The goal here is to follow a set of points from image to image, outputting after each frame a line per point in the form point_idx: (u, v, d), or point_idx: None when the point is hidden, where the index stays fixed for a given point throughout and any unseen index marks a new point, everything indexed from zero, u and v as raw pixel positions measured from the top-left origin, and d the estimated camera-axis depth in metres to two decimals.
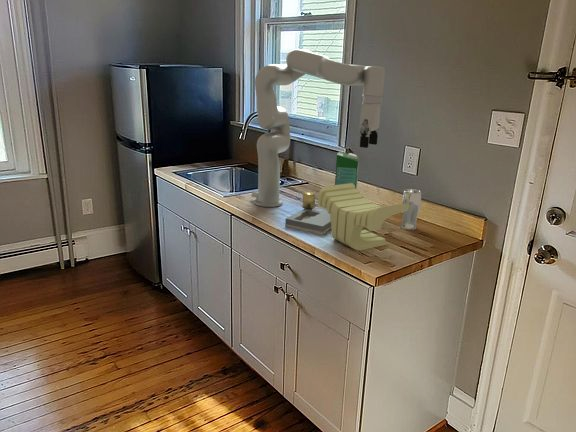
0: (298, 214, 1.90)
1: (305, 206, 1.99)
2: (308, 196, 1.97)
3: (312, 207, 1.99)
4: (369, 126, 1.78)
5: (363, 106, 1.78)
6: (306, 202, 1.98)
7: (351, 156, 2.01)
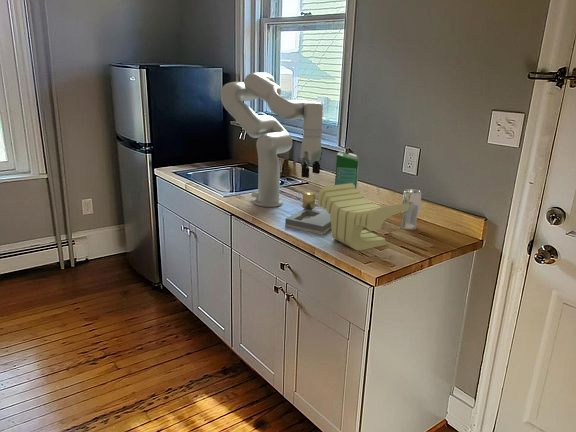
0: (298, 214, 1.90)
1: (306, 206, 1.99)
2: (308, 196, 1.97)
3: (312, 207, 1.99)
4: (309, 158, 1.90)
5: (303, 139, 1.90)
6: (306, 202, 1.98)
7: (351, 156, 2.01)
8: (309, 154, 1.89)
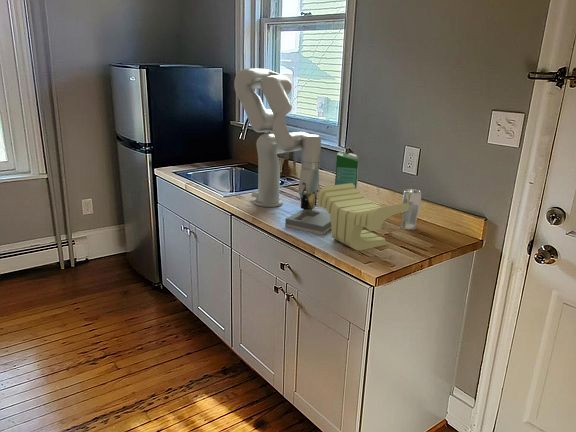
0: (298, 214, 1.90)
1: None
2: (308, 196, 1.97)
3: (312, 207, 1.99)
4: (307, 189, 1.94)
5: (301, 171, 1.93)
6: None
7: (351, 156, 2.01)
8: (307, 186, 1.93)
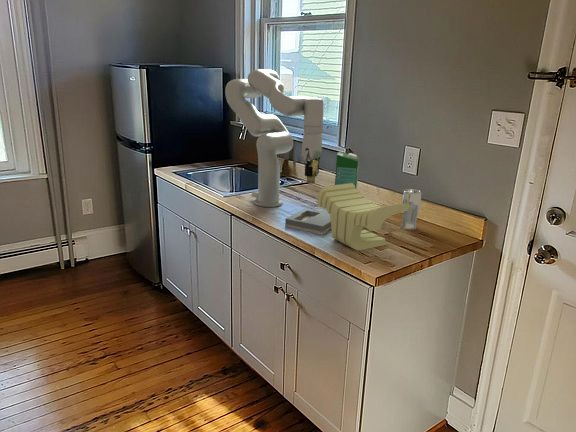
0: (298, 214, 1.90)
1: None
2: None
3: (315, 175, 1.92)
4: (310, 154, 1.87)
5: (304, 136, 1.87)
6: None
7: (351, 156, 2.01)
8: (310, 151, 1.86)
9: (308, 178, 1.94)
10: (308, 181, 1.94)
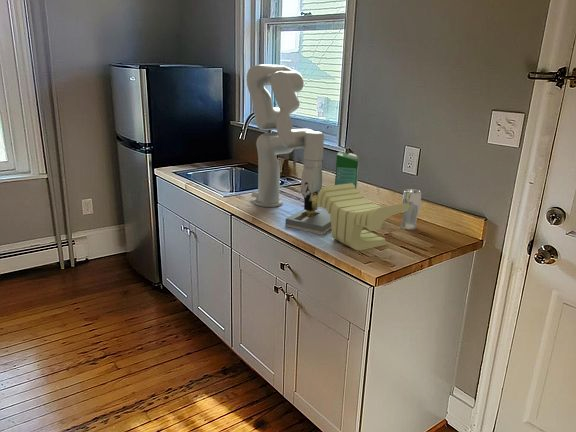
0: (298, 214, 1.90)
1: None
2: None
3: (314, 208, 1.89)
4: (310, 189, 1.84)
5: (303, 170, 1.84)
6: None
7: (351, 156, 2.01)
8: (310, 185, 1.83)
9: (308, 212, 1.90)
10: (308, 215, 1.91)
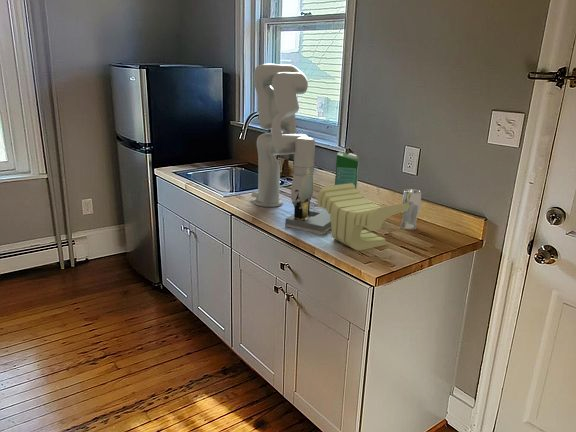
0: None
1: None
2: None
3: (305, 216, 1.84)
4: (300, 197, 1.78)
5: (294, 177, 1.78)
6: None
7: (351, 156, 2.01)
8: (300, 193, 1.78)
9: (298, 219, 1.85)
10: None
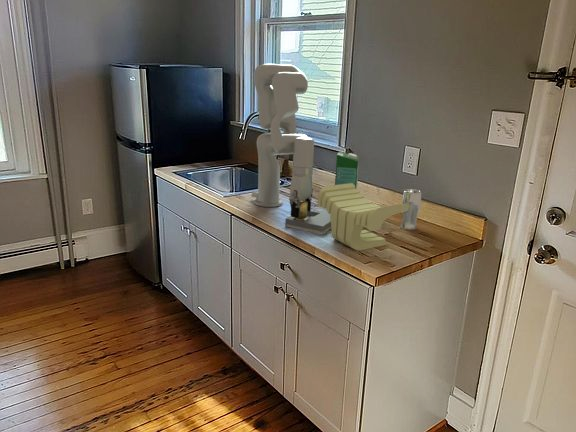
0: None
1: None
2: (300, 205, 1.81)
3: (304, 216, 1.83)
4: (299, 197, 1.78)
5: (293, 177, 1.77)
6: None
7: (351, 156, 2.01)
8: (299, 193, 1.77)
9: None
10: None
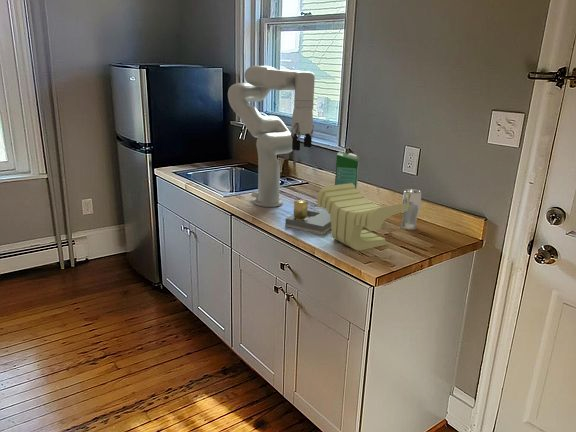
0: None
1: (297, 215, 1.83)
2: (300, 205, 1.81)
3: (304, 216, 1.83)
4: (300, 129, 1.83)
5: (294, 110, 1.83)
6: (298, 211, 1.82)
7: (351, 156, 2.01)
8: (300, 126, 1.83)
9: None
10: None
